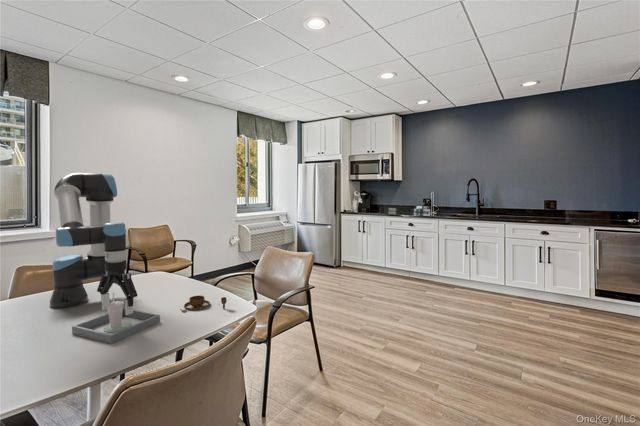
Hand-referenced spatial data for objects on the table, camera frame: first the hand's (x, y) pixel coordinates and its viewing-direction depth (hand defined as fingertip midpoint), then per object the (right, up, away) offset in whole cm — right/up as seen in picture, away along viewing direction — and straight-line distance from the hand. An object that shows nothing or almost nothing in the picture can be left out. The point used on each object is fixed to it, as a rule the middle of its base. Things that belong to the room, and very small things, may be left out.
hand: (117, 311), depth 135 cm
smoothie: (-1, -7, +1) cm, 7 cm away
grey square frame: (0, -7, 0) cm, 7 cm away
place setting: (+26, -6, +23) cm, 36 cm away
